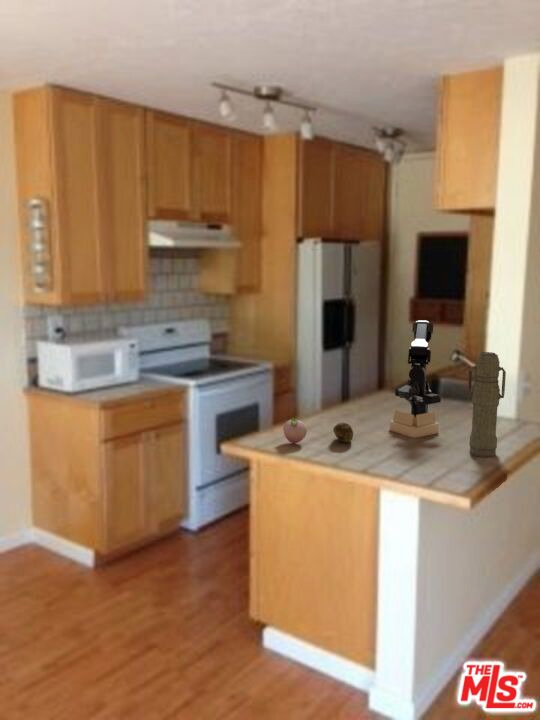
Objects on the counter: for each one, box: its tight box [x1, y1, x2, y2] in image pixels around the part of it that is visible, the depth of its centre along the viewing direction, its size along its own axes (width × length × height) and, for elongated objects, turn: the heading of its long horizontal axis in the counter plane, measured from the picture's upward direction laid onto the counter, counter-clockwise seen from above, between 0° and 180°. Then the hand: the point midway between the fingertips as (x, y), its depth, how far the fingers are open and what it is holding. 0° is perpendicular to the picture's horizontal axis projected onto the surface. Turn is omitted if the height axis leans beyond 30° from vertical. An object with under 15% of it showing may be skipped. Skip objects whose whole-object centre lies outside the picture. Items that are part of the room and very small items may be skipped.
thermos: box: [467, 351, 507, 458], centre depth 229 cm, size 9×12×35 cm
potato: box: [332, 422, 354, 443], centre depth 244 cm, size 8×13×8 cm, turn 158°
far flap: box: [392, 409, 414, 426], centre depth 255 cm, size 1×10×4 cm, turn 35°
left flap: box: [416, 411, 437, 426], centre depth 254 cm, size 10×1×4 cm, turn 124°
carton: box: [389, 417, 440, 439], centre depth 260 cm, size 14×14×4 cm
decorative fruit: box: [282, 416, 308, 445], centre depth 242 cm, size 9×8×10 cm
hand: (416, 417), depth 260 cm, fingers closed
